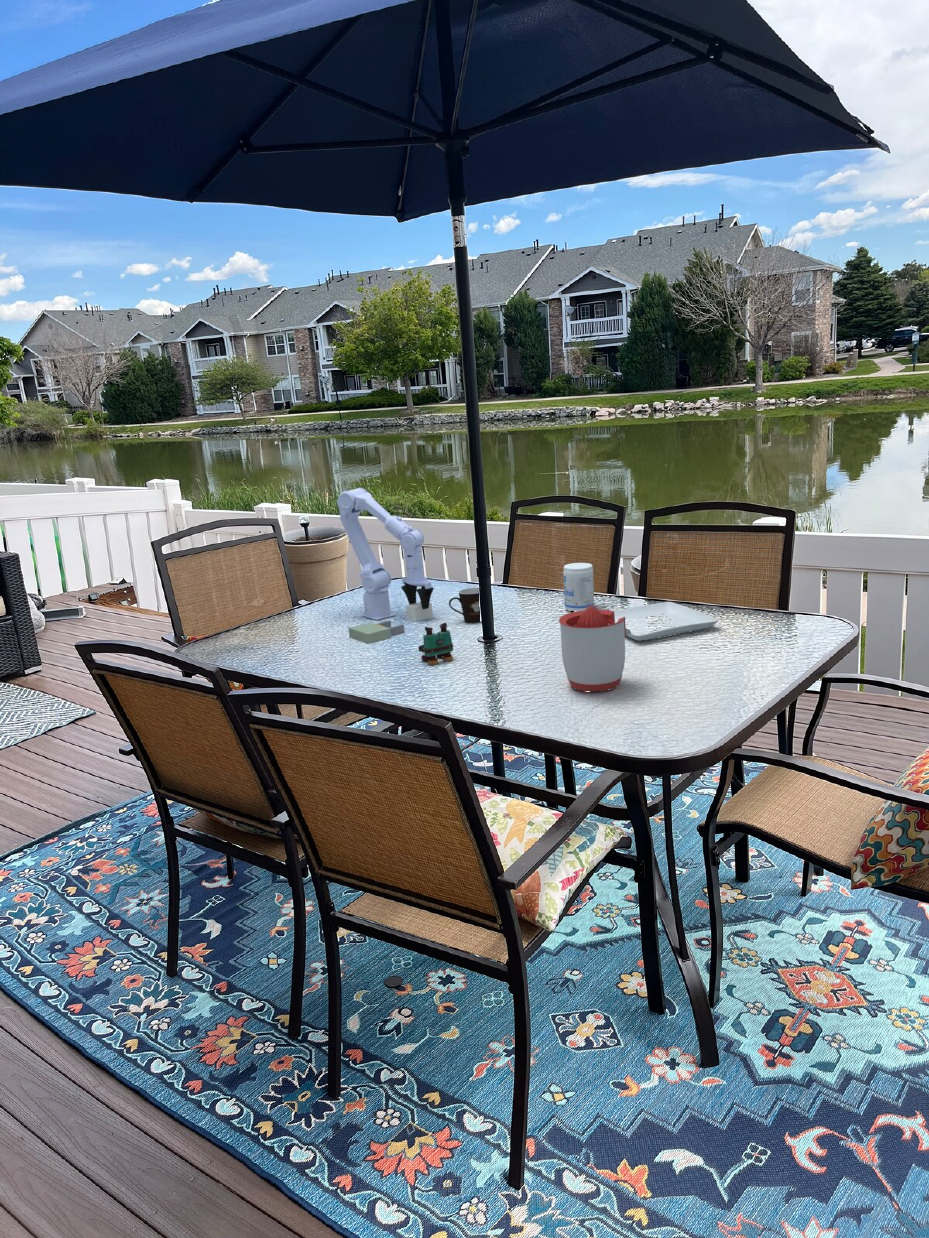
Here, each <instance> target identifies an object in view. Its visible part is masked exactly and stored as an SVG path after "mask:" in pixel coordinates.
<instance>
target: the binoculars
mask: <svg viewBox="0 0 929 1238" xmlns="http://www.w3.org/2000/svg"><path fill="white" fill-rule="evenodd" d="M439 628H440V631H438V632H437V633H436V632H435V633H434V632H433V630H434V629H433V627H428V626H425V627H424V631H425V634H423V639H422V640H423V644H422V645H420V646H418V652H421V653H422V654H423V655H421V660H422V661H427V663H428V664H429V665H431V666H432V665H433V666H434V665H437V664H439V660H438V658H442V660H443V661H445V662H451V661H453V660H454V659H453V658H454V657H453V655H452V653H451V652H453V651H454V643H453V641H452V634H451V632H450V630H448V625H447V622H443V623H441V624H439Z"/></svg>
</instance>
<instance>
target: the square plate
mask: <svg viewBox="0 0 929 1238" xmlns="http://www.w3.org/2000/svg"><path fill="white" fill-rule="evenodd" d="M613 611H614V616H615V623H616V622H618V619H620V618H623V617H625V620H626V619H643V617H645V616H667V617H660V618H659V617H658V618H644V619H672V620H667V621H663V622H662V621H657V622H656V621H655V622H654V621H653V622H652V621H649V622H647V621H646V622H645V621H644V622H637V623H670V624H668V625H667V624H666V625H661V624H660V625H658V626H678V627H669V628H668V627H667V628H660V629H659V628H657V629H656V628H655V629H654V628H653V629H652V628H649V629H645V628H644V629H638V628H637V629H629V630H660V631H656V632H653V631H652V632H649V631H648V632H647V631H646V632H642V631H641V632H634V631H633V632H631V634H626V637H629V638H631V639H632V640H635V641H638V642H642V640H644V641H650V640H649V639H651V640H655V639H654V638H657V639H659V638H658V637H662V638H665V637H664V636H667V637H670V636H669V635H672V636H675V635H674V634H678V633H683V634H686V633H685V632H688V633H691V632H690V631H694V632H697V631H700V630H705V629H707V628H710V627H713V626H715V624H717V623H718V622H719V621H720V619H719V618H716V617H714V616H712V615H709V614H707V613H704V612H702V611H698V610H697V609H693V608H691V607H688V606H685V605H682V604H678V603H675V602H672V601H664V602H658V603H652V604H644V605H638V606H633V607H627V608H623V609H622V608H621V609H619V610H618V609H617V610H613ZM663 613H665V614H664V615H663ZM661 614H662V615H661ZM673 619H676V620H673ZM625 623H626V622H625ZM627 623H628V622H627ZM631 623H633V622H631ZM634 623H636V622H634ZM671 623H672V624H671ZM673 623H675V624H673ZM634 626H635V625H634ZM636 626H637V625H636ZM639 626H640V625H639ZM641 626H642V625H641ZM643 626H644V625H643ZM646 626H651V625H646ZM652 626H657V625H652ZM696 630H697V631H696ZM633 633H648V634H642V635H641V634H640V635H639V634H638V635H637V634H633ZM678 635H679V634H678Z"/></svg>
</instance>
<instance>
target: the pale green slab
mask: <svg viewBox="0 0 929 1238" xmlns="http://www.w3.org/2000/svg"><path fill="white" fill-rule="evenodd" d="M391 621H392V620H385V621H381V622H377V623H375V622H371V621H369V622H366V623H362V624H358V625H355V626H354V625H353V626H351V627H348V634H349V638H351V637H352V639H355V640H357V641H360V640H361V641H360V642H363V643H366V644H368V643H370V644H372V643H373V644H374V643H376V642H381V641H383V640H384V641H385V640H388V639H391V638H392V636H397V635H399V634H403V633H405V625H404V623H401V624H397V625H395V626H392V622H391ZM380 640H381V641H380Z"/></svg>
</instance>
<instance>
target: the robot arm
mask: <svg viewBox="0 0 929 1238" xmlns="http://www.w3.org/2000/svg"><path fill="white" fill-rule="evenodd" d="M336 504H337V507H338V509H339V518H340V522H341V525H342V526H343V529H344V531H345V533H346V535H347V538H348V540H349V541H350V544H351V546H352V548H353V550H354V553H355V555H356V558H357V559H358V562H359V564H360V566H361V570H360V573H359V576H360V579H361V587H362V589H363V590H364V591H365V592H364V594H363V597H362V599H363V600H362V601H363V609H364V613H363V614H362V617H364V616H365V617H364V618H367V619H372V620H374V621H379V620H383V619H386V618H390V617H395V616H397V613H395V612H392V610H391V603H390V594H389V593H390V592H389V588H390V587H389V586H390V584H391V583H392V576H391V574H390V572H389V571H388V570H386V568H385V566H384V564H383V563H381V562H379V561H378V560H377V558H376V556H375V553H374V552H373V550H372V547H371V545H370V543H369V541H368V538H367V536H366V533H365V531H364V530H363V529H364V528H363V527H362V524H361V523H360V521H359V517H360V514H361V512H362V511H367V512H368V513H369V514H370V515H372V516H374V518H376V519H377V520H378V521H380V522H381V523H383V524H384V529H385V530H386V531H387V532H388V533H389V534H391V535H392V536H393V537H395V539H397V541H399V544H400V546H401V548H402V549H403V553H404V559H405V567H406V569H405V570H406V577H402V579H401V580H402V586H401V587H400V588H401V590H402V592H403V593H404V594H405V598H406V599H407V601H408V605H410V604H414V603H417V594H418V597H419V599H420V600H419V602H421V606H422V609H428V608H429V603H431V597H432V594H433V592H434V590H435V589H434V587H433V586H432V581H429V580H428V578H427V577H426V576H425V567H424V566H425V565H424V557H423V548H422V547H423V546H422V545H423V544H424V541H425V536H424V535H423V533H422V531H420V529H418V528H417V529H416V528H415V529H414V528H413V527H412V526H411V525H409V524H407V523H406V522H405V521H404V520H403V518H402V517H401V516H400V515H399V516H398V515H391V514H390V513H389V512H388V511H387V510H386V509H385V508H384V507H383V506H382V505H380V504H379V502H377V501H376V500H375V499H374V498H373V496H372V494H371V493H370V492H368V491H367V490H366V489H365V488H362V487H357V488H355V489H349V490H344V491H342V492H340V494H339V495H338V497H337V501H336ZM418 587H419V588H418Z"/></svg>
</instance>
